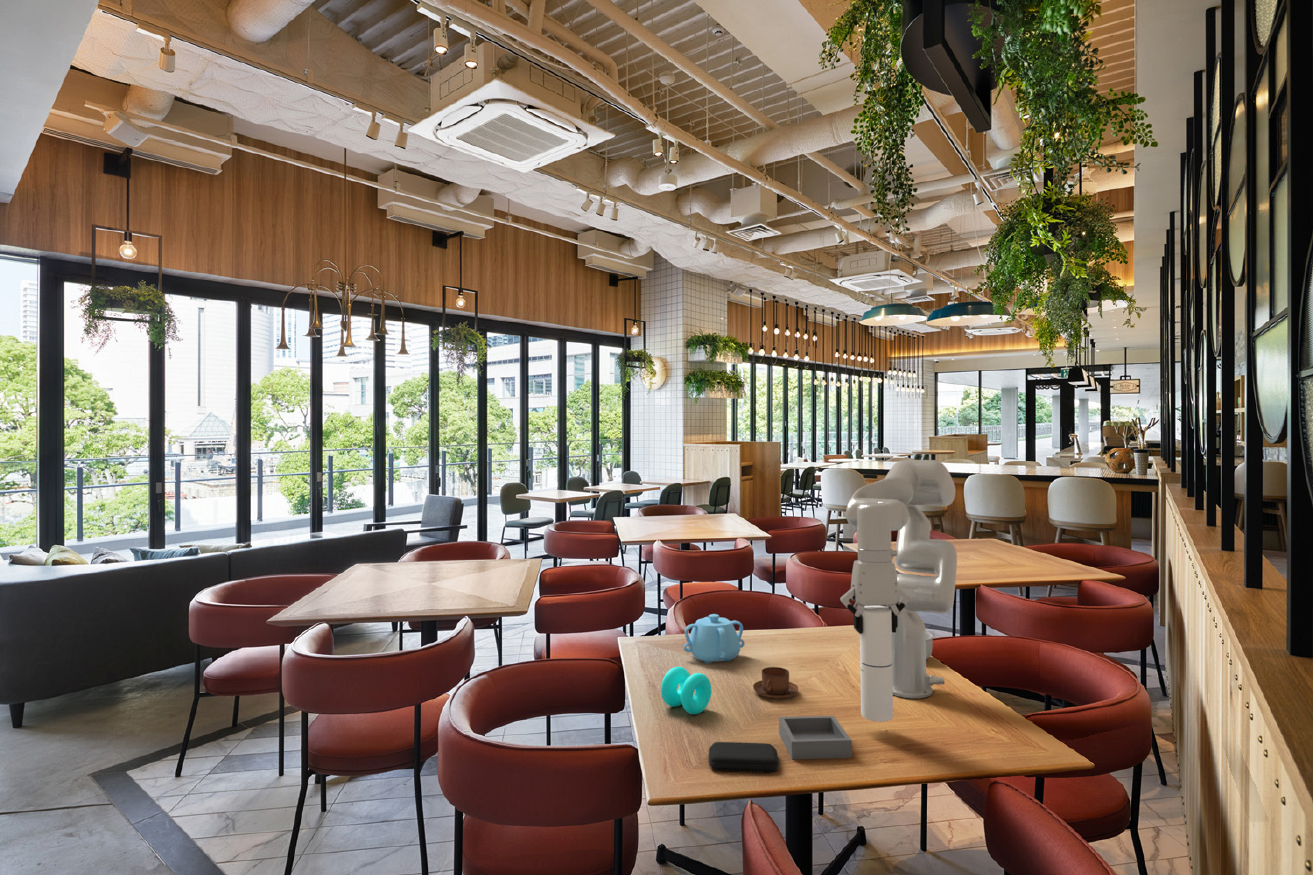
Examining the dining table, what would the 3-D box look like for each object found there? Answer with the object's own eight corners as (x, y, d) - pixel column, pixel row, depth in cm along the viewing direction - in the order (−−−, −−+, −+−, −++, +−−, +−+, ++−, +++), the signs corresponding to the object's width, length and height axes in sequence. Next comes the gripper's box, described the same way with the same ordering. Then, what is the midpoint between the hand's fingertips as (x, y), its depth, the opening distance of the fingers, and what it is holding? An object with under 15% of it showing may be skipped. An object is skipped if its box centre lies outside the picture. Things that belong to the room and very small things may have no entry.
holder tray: (833, 731, 162) (833, 715, 162) (851, 757, 149) (851, 740, 149) (779, 733, 161) (778, 717, 161) (791, 759, 148) (791, 741, 148)
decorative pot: (721, 670, 205) (721, 625, 205) (678, 659, 215) (678, 616, 215) (749, 656, 218) (749, 613, 218) (707, 647, 228) (707, 605, 228)
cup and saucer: (798, 704, 179) (798, 680, 179) (751, 701, 181) (751, 677, 181) (798, 687, 191) (798, 665, 191) (754, 684, 193) (754, 662, 193)
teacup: (936, 656, 215) (936, 631, 215) (929, 666, 206) (929, 640, 206) (890, 649, 223) (890, 625, 223) (882, 659, 214) (881, 633, 214)
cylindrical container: (877, 724, 156) (875, 614, 156) (854, 712, 163) (852, 607, 162) (899, 717, 160) (898, 610, 159) (876, 706, 166) (875, 603, 166)
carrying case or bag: (776, 752, 152) (709, 750, 154) (775, 738, 152) (709, 736, 154) (780, 776, 142) (708, 773, 143) (779, 761, 142) (708, 758, 143)
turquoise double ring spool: (685, 698, 183) (685, 661, 183) (714, 709, 176) (713, 670, 176) (658, 709, 176) (658, 670, 176) (687, 720, 169) (687, 680, 169)
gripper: (904, 551, 165) (905, 625, 165) (832, 553, 164) (834, 627, 164) (917, 557, 157) (919, 635, 157) (842, 560, 156) (843, 637, 157)
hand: (875, 630), depth 161 cm, fingers closed on cylindrical container, 7 cm apart
